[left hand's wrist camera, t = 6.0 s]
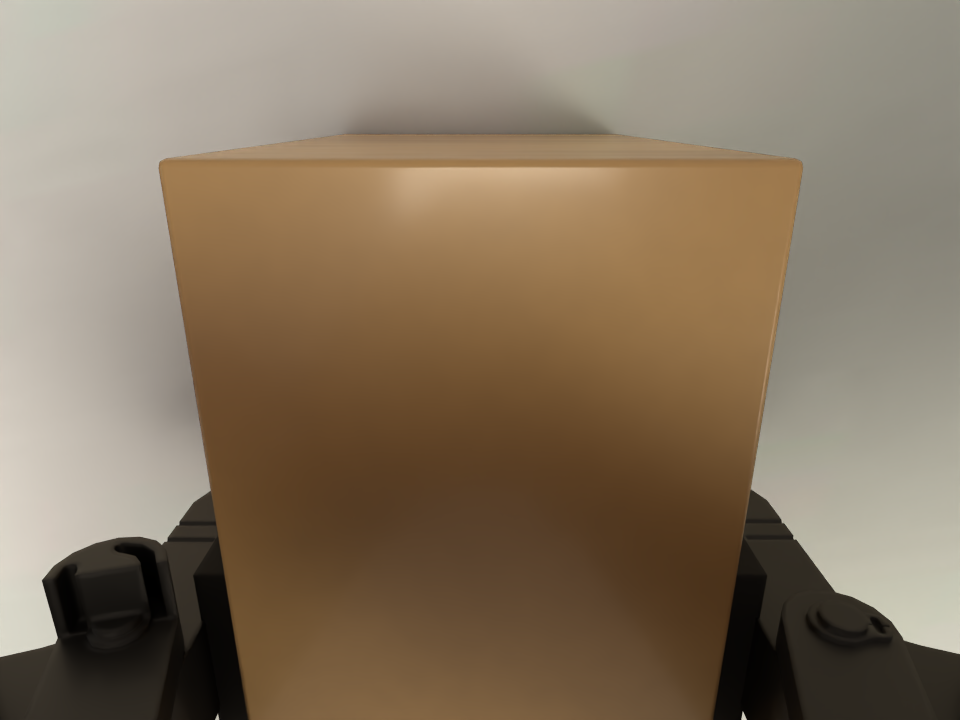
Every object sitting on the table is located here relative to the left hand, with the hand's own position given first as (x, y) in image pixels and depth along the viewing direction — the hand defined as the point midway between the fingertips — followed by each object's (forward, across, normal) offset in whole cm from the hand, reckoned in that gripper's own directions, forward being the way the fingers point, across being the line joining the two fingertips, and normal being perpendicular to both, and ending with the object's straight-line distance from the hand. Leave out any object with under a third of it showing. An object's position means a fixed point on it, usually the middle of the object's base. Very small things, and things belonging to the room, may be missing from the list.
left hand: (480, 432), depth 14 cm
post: (0, 0, -28) cm, 28 cm away
